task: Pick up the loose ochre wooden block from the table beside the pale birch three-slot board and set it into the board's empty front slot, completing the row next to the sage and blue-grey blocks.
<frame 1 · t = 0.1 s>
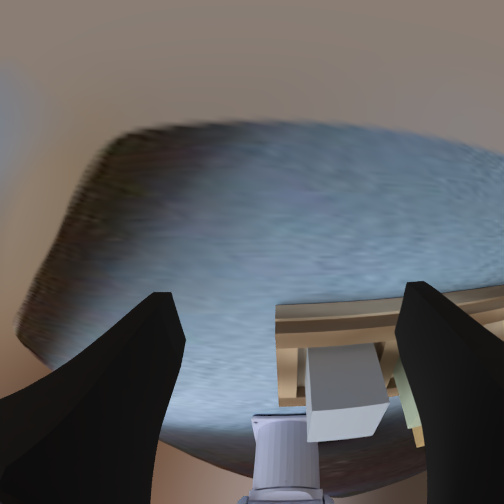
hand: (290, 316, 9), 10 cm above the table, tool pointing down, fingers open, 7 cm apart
blue-grey block: (336, 361, 22), point 1 cm above the table, touching slot board
slot board: (419, 338, 22), on the table
sage block: (424, 350, 21), point 1 cm above the table, touching slot board
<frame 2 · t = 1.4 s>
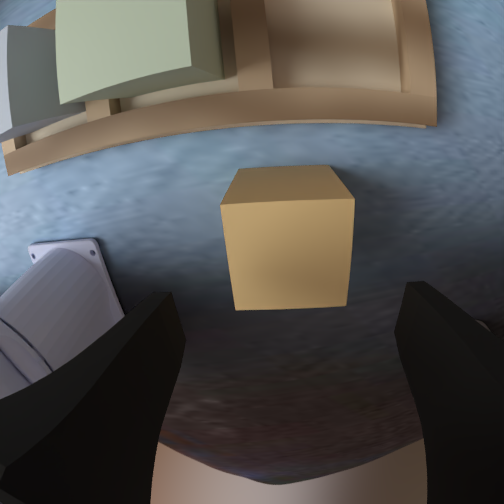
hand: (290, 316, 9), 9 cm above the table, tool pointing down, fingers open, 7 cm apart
blue-grey block: (52, 84, 12), point 1 cm above the table, touching slot board
ochre block: (285, 207, 17), on the table
slot board: (180, 47, 13), on the table
sage block: (171, 43, 11), point 1 cm above the table, touching slot board
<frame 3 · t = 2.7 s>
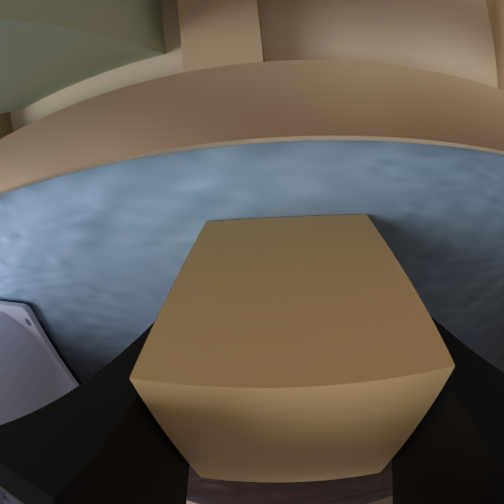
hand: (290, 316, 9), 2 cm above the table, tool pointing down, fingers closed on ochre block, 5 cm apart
ochre block: (289, 284, 10), on the table, touching gripper
slot board: (104, 14, 6), on the table
sage block: (77, 5, 5), point 1 cm above the table, touching slot board
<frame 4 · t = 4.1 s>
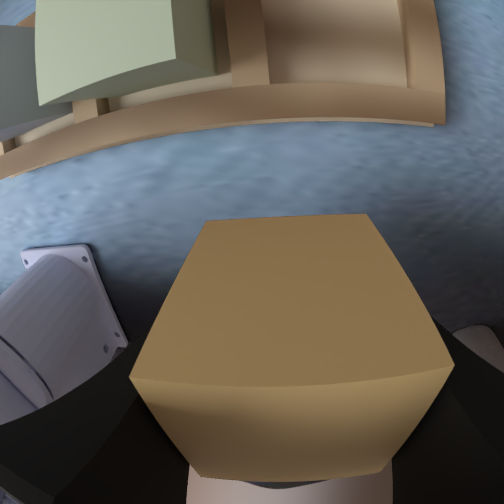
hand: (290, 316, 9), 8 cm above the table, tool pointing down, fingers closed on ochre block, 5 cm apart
blue-grey block: (40, 85, 11), point 1 cm above the table, touching slot board
pillar candle: (453, 359, 22), on the table
ochre block: (289, 284, 10), point 7 cm above the table, touching gripper
slot board: (171, 43, 12), on the table
sage block: (161, 38, 10), point 1 cm above the table, touching slot board
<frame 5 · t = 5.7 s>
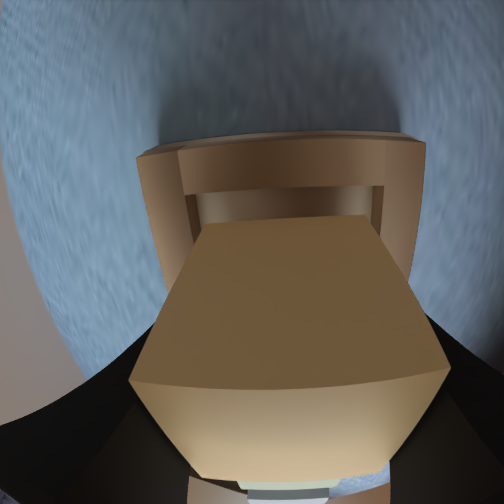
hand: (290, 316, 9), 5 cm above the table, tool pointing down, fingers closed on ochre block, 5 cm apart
blue-grey block: (289, 437, 19), point 1 cm above the table, touching slot board
ochre block: (288, 285, 10), point 3 cm above the table, touching gripper
slot board: (289, 361, 17), on the table
sage block: (290, 381, 15), point 1 cm above the table, touching slot board
when the fingers open (5 cm above the table, at t = 5.9 s): ochre block drops 2 cm, resting on slot board.
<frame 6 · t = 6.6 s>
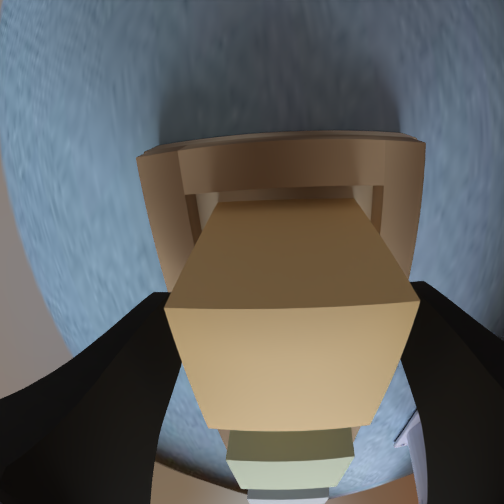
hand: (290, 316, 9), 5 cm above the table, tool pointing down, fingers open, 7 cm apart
blue-grey block: (289, 437, 19), point 1 cm above the table, touching slot board
ochre block: (287, 259, 12), point 1 cm above the table, touching slot board
slot board: (289, 361, 17), on the table
sage block: (290, 380, 15), point 1 cm above the table, touching slot board
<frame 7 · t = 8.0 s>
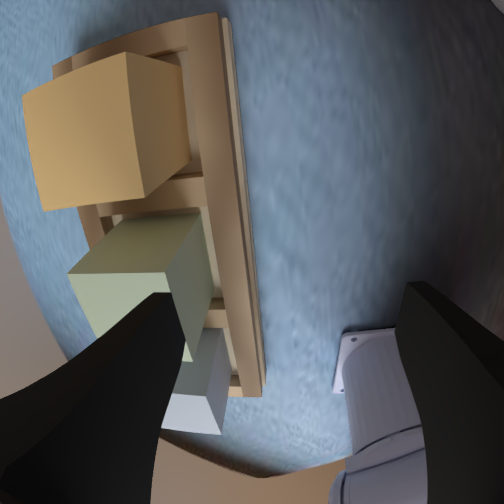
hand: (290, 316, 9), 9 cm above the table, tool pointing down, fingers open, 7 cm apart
blue-grey block: (194, 347, 21), point 1 cm above the table, touching slot board
ochre block: (141, 121, 14), point 1 cm above the table, touching slot board
slot board: (175, 243, 19), on the table
sage block: (168, 254, 17), point 1 cm above the table, touching slot board
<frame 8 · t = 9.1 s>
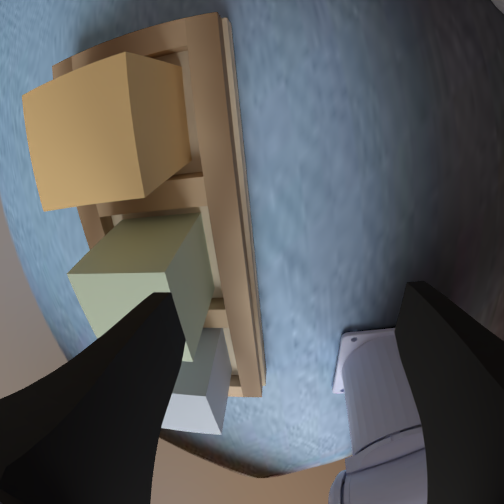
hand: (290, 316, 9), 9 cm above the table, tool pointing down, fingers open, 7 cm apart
blue-grey block: (194, 347, 21), point 1 cm above the table, touching slot board
ochre block: (141, 121, 14), point 1 cm above the table, touching slot board
slot board: (175, 243, 19), on the table
sage block: (168, 254, 17), point 1 cm above the table, touching slot board
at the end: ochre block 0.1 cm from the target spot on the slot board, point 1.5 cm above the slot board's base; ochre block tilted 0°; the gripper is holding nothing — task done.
